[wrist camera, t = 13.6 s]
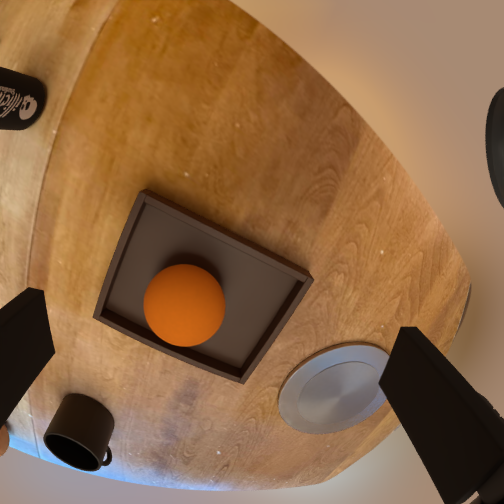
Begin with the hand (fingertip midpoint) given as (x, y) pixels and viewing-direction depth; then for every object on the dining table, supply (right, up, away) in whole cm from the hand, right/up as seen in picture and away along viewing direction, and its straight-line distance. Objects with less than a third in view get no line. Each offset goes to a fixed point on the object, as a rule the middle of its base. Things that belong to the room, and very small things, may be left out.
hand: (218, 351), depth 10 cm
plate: (+14, -17, +30) cm, 37 cm away
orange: (-5, -2, +19) cm, 20 cm away
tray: (-5, -1, +24) cm, 24 cm away
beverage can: (-26, +21, +16) cm, 36 cm away
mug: (-25, -24, +29) cm, 45 cm away
